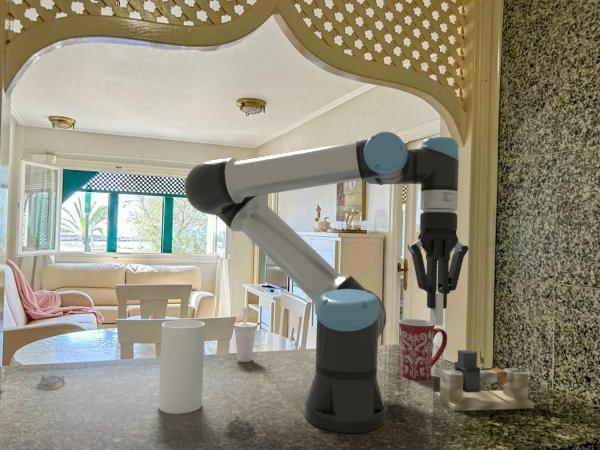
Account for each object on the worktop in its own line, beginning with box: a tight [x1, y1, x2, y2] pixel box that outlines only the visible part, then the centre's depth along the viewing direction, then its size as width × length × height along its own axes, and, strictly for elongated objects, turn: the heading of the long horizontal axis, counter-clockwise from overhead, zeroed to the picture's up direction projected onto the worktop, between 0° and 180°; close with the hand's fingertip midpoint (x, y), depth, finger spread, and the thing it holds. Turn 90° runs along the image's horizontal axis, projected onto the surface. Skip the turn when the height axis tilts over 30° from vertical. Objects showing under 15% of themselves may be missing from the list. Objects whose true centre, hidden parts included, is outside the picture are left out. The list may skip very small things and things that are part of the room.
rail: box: [434, 367, 535, 412], centre depth 96 cm, size 18×8×7 cm, turn 100°
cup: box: [158, 319, 206, 415], centre depth 88 cm, size 8×8×16 cm
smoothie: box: [233, 307, 258, 363], centre depth 122 cm, size 6×6×14 cm
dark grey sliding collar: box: [453, 349, 481, 392], centre depth 95 cm, size 3×5×8 cm, turn 10°
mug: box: [398, 318, 448, 381], centre depth 114 cm, size 13×9×14 cm
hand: (436, 324), depth 94 cm, fingers closed
